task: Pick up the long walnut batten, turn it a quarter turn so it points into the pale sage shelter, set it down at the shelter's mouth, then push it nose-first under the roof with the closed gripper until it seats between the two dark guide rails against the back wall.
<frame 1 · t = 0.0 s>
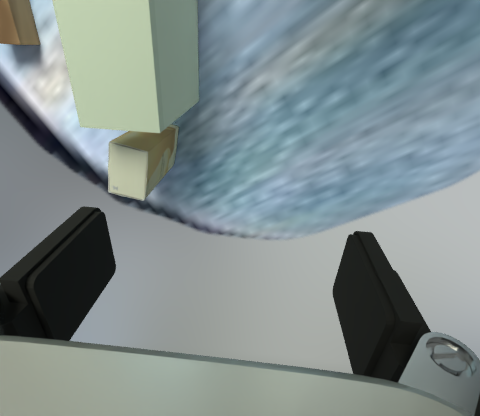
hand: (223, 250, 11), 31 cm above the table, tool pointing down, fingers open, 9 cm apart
skincare box: (163, 141, 42), on the table
shelter: (168, 9, 34), on the table
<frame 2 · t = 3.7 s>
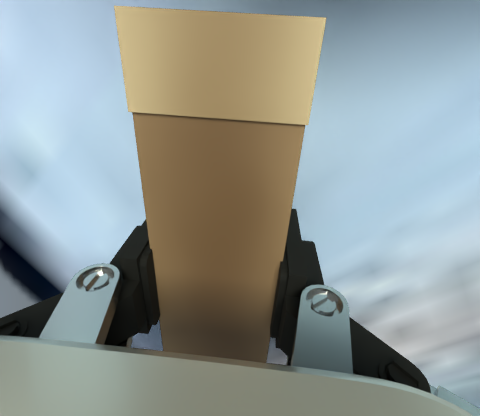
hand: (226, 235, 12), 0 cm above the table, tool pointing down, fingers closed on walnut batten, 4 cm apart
walnut batten: (228, 230, 12), on the table, touching gripper
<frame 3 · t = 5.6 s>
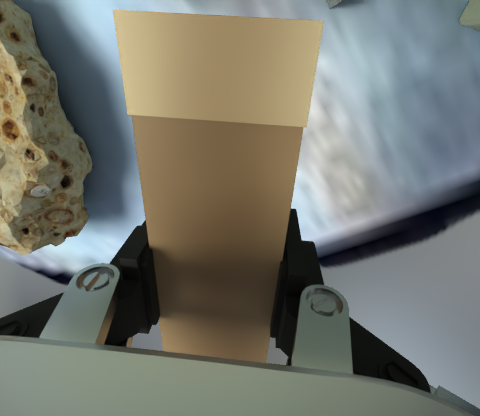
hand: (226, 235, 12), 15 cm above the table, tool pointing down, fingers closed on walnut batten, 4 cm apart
rock: (25, 121, 27), on the table
walnut batten: (227, 231, 12), point 15 cm above the table, touching gripper
when the fingers open (2 cm above the table, at t = 7.6 s): walnut batten drops 1 cm, on the table.
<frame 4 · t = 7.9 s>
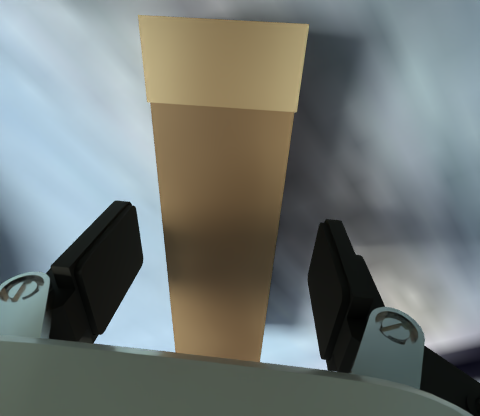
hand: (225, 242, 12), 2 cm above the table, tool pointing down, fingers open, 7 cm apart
walnut batten: (229, 213, 14), on the table
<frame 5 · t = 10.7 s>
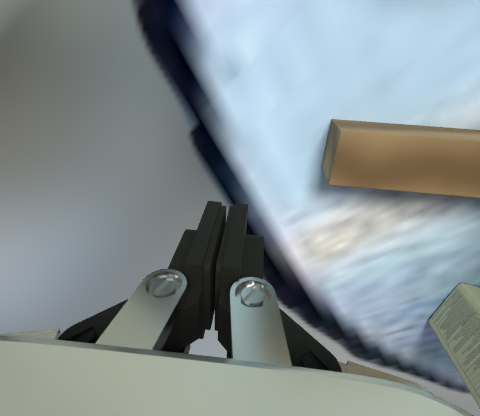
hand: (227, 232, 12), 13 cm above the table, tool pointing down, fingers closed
walnut batten: (420, 151, 23), on the table
skincare box: (460, 304, 31), on the table
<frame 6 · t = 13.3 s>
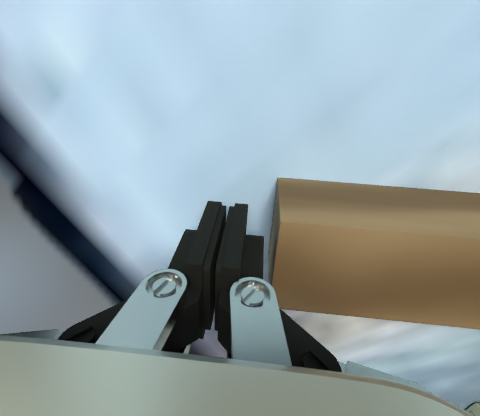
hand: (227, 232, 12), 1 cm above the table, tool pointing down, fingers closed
walnut batten: (440, 231, 13), on the table, touching gripper
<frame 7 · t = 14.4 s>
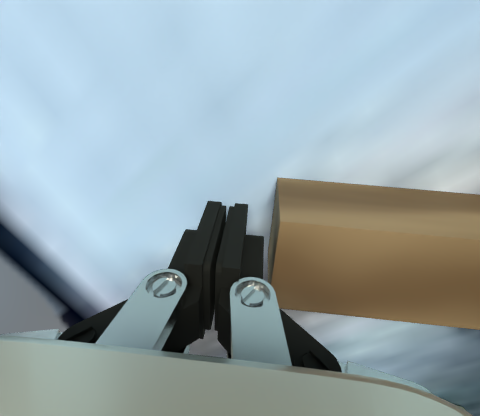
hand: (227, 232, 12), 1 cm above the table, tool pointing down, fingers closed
walnut batten: (438, 232, 13), on the table, touching gripper
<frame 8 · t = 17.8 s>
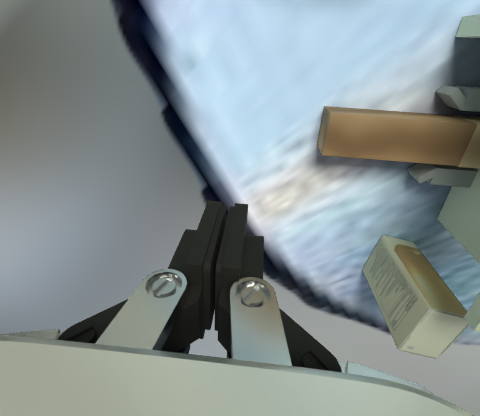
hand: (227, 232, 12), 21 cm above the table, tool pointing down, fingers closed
walnut batten: (392, 131, 30), on the table
skincare box: (386, 254, 38), on the table
shelter: (455, 135, 29), on the table
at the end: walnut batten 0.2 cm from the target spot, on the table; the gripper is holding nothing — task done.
